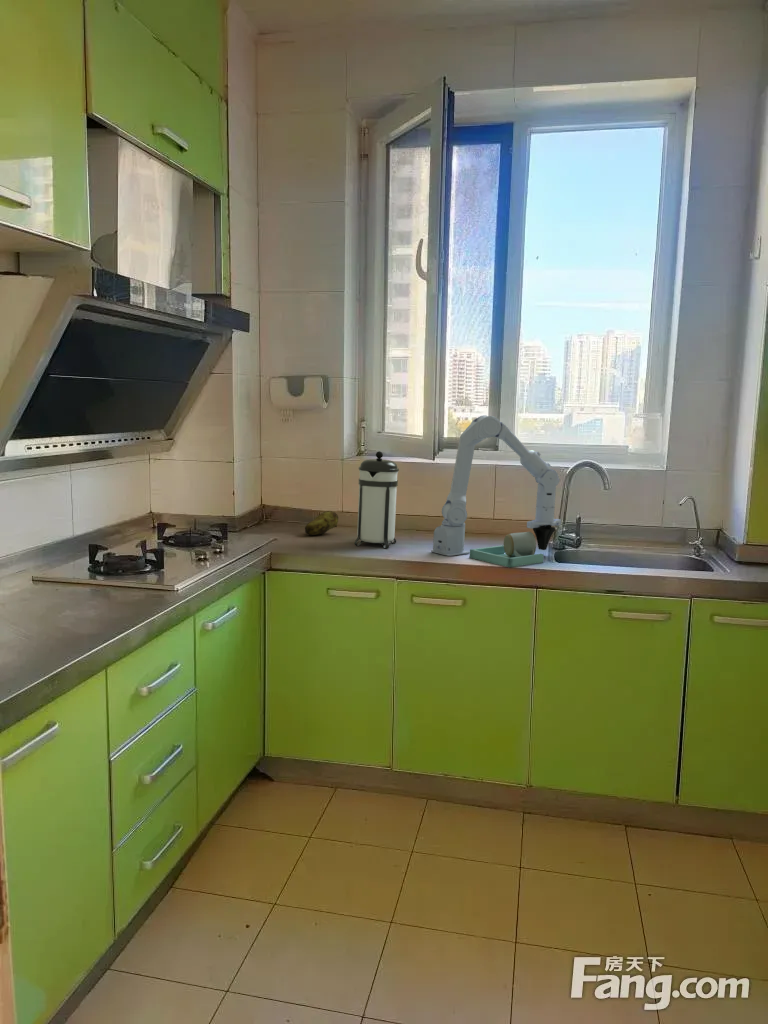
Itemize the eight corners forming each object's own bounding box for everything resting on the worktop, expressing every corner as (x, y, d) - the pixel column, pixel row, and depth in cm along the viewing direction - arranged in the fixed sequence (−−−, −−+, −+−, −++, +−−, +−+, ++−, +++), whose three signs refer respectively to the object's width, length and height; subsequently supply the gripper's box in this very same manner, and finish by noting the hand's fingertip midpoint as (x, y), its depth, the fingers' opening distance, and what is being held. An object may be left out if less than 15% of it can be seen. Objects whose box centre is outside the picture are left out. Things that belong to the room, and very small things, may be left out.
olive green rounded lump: (298, 533, 263) (299, 510, 262) (333, 532, 269) (333, 509, 268) (307, 537, 255) (308, 513, 254) (343, 536, 261) (343, 512, 260)
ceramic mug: (501, 554, 240) (502, 529, 239) (525, 553, 242) (527, 529, 241) (515, 561, 230) (517, 536, 229) (540, 561, 232) (542, 536, 231)
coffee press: (409, 547, 245) (414, 453, 241) (364, 549, 238) (368, 452, 234) (385, 538, 260) (389, 449, 256) (342, 540, 253) (345, 448, 249)
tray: (509, 567, 221) (510, 558, 221) (469, 557, 233) (469, 549, 233) (542, 562, 231) (543, 554, 230) (502, 553, 243) (503, 545, 242)
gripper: (540, 509, 233) (537, 553, 235) (570, 507, 242) (566, 549, 244) (522, 506, 238) (519, 549, 240) (552, 504, 248) (549, 545, 250)
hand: (542, 549), depth 243 cm, fingers closed
